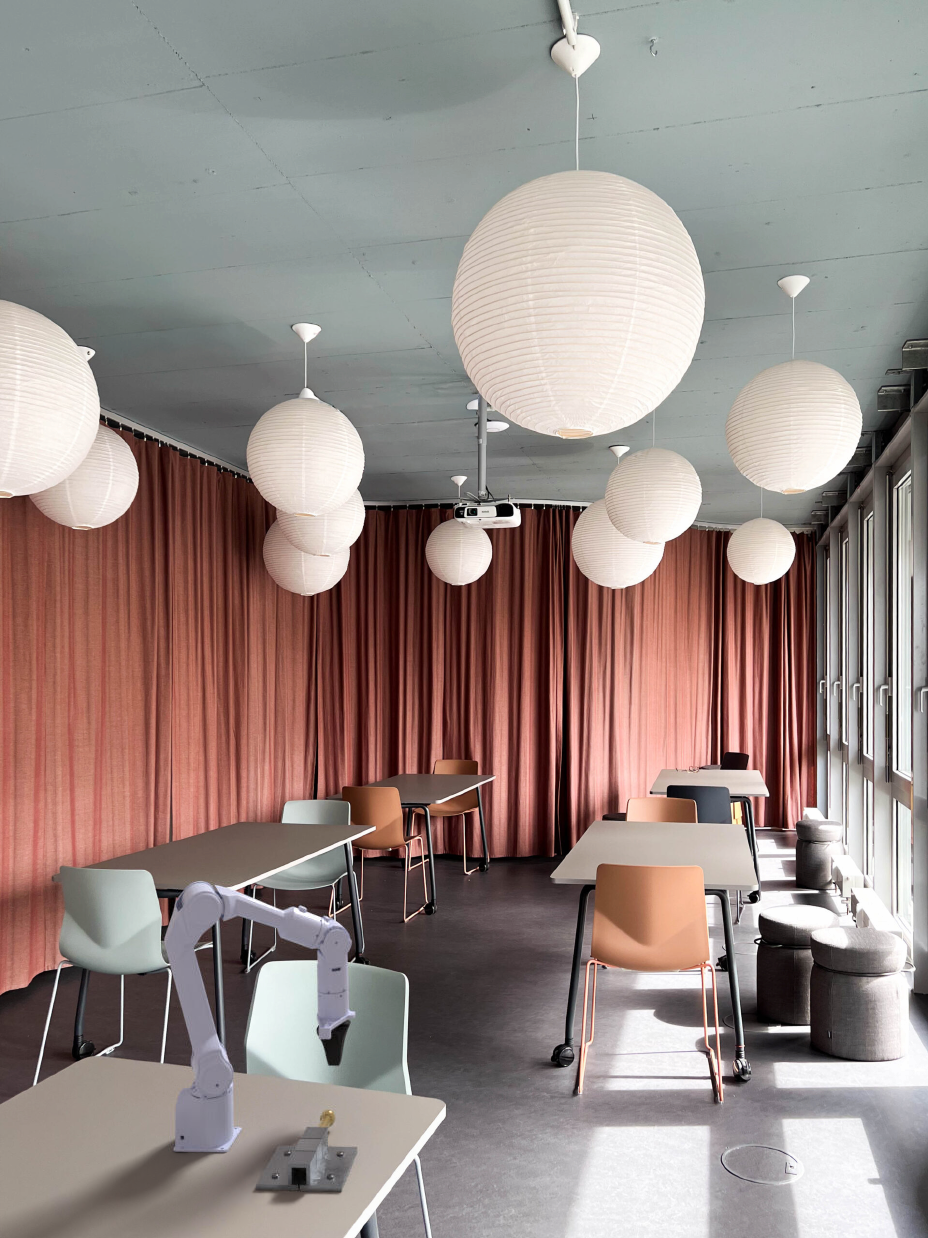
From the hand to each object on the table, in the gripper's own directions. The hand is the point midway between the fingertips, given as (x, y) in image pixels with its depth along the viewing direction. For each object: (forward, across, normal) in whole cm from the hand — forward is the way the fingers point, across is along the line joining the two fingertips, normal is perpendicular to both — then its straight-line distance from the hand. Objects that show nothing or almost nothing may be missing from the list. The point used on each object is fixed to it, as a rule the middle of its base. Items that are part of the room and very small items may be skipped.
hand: (334, 1064), depth 169 cm
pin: (+8, -12, 0) cm, 15 cm away
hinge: (+9, -19, 0) cm, 21 cm away
